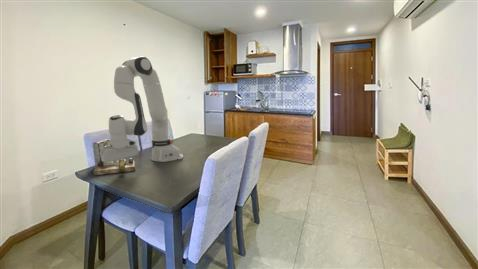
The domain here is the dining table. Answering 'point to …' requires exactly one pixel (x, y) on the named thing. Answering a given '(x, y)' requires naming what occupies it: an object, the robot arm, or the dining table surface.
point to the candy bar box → (99, 149)
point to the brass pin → (121, 165)
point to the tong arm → (108, 163)
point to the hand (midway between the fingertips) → (121, 166)
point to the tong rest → (113, 169)
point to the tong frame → (125, 159)
